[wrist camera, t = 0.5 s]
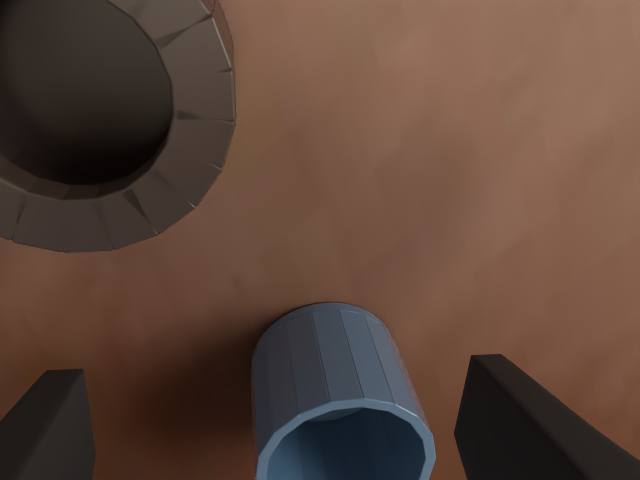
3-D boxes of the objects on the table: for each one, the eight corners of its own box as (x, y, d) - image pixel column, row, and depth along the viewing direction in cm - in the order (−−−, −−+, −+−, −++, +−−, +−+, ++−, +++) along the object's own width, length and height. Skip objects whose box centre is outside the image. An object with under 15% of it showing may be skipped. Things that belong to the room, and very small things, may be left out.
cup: (366, 427, 25) (396, 537, 21) (233, 406, 24) (234, 520, 19) (418, 318, 23) (465, 415, 19) (274, 287, 22) (286, 385, 17)
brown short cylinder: (199, 209, 20) (192, 280, 16) (-59, 147, 18) (-141, 211, 14) (265, -34, 17) (276, -21, 13) (-38, -142, 15) (-136, -167, 11)
